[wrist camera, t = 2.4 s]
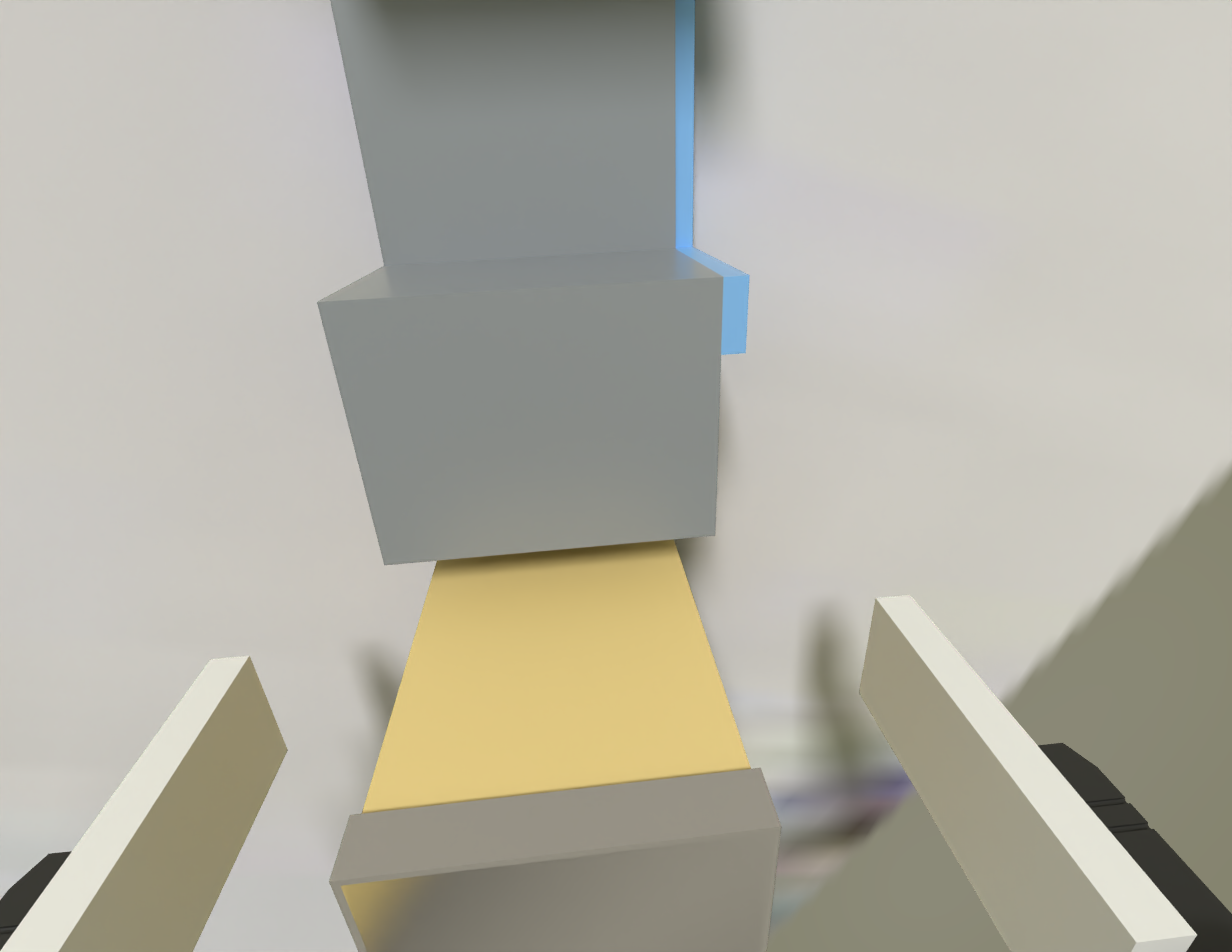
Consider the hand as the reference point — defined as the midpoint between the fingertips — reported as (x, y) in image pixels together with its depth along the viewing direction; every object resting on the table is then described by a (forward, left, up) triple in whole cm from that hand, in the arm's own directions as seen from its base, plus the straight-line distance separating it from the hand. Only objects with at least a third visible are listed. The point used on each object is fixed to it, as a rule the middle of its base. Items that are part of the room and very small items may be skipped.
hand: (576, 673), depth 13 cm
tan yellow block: (0, 0, -3) cm, 3 cm away
